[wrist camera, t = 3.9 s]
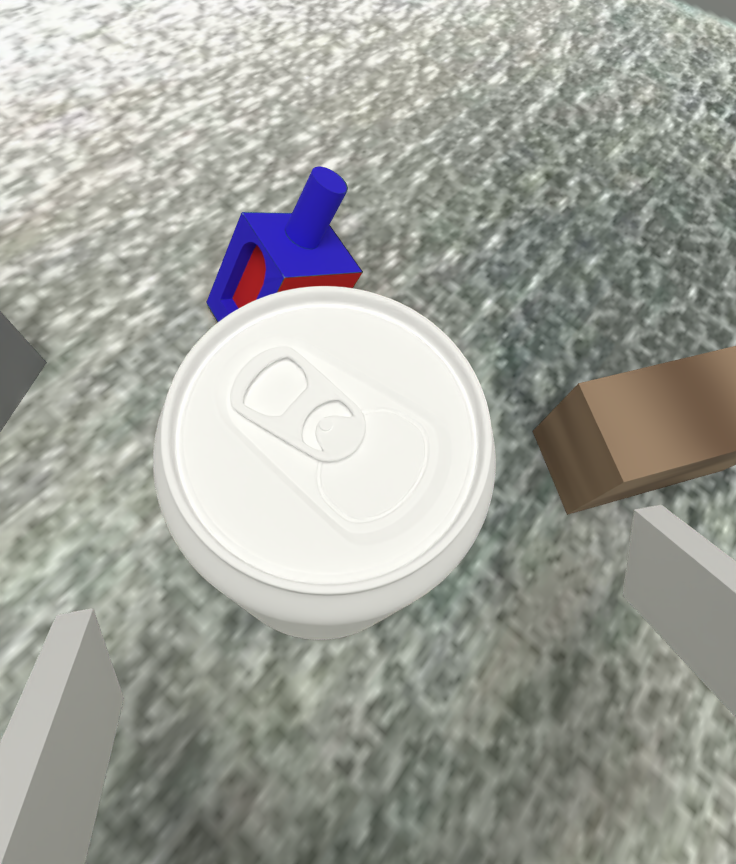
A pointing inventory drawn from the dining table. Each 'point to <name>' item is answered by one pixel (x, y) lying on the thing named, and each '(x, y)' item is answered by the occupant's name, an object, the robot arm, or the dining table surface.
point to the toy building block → (286, 249)
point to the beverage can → (324, 459)
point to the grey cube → (15, 368)
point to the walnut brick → (642, 430)
